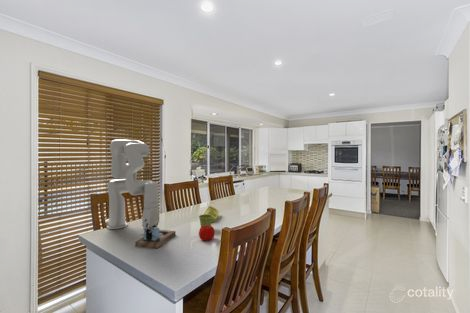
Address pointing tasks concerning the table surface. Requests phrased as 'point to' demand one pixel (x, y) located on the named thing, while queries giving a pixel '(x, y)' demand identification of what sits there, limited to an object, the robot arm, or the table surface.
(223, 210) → the table surface
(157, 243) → the tray
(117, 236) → the table surface
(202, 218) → the plant pot
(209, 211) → the plastic component
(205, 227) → the tomato
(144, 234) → the light blue drawer box
